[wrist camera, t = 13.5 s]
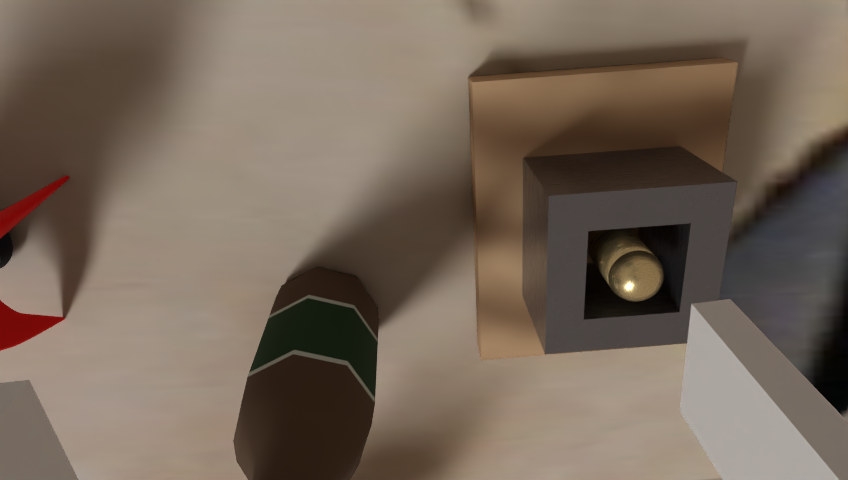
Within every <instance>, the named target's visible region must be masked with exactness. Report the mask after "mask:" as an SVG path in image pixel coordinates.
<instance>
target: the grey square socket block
mask: <svg viewBox="0 0 848 480" xmlns="http://www.w3.org/2000/svg"><path fill="white" fill-rule="evenodd" d="M736 187H737V181H735V180H734V179H732V178H731V177H729V176H727V175H726V174H724V173H723V172H721V171H719V170H718V169H716V168H715V167H713V166H711V165H710V164H708V163H707V162H705V161H704V160H702V159H700V158H699V157H697V156H696V155H694V154H692V153H691V152H689V151H688V150H686V149H684V148H683V147H681V146H673V147H659V148H646V149H632V150H619V151H605V152H592V153H578V154H565V155H551V156H538V157H525V158H523V259H522V296H523V299H524V302H525V304H526V307H527V309H528V312H529V314H530V317H531V319H532V322H533V325H534V327H535V330H536V332H537V335H538V337H539V340H540V343H541V345H542V348H543V350H544V353H545V354H556V353H568V352H581V351H594V350H606V349H619V348H631V347H644V346H657V345H669V344H682V343H687V340H688V331H689V322H690V313H691V304H693V303H701V302H710V301H719V294H720V288H721V282H722V275H723V269H724V263H725V256H726V250H727V244H728V237H729V231H730V225H731V218H732V212H733V206H734V199H735V193H736ZM636 227H639V230H638V237H639V238H640V240H641V241H642V242H643V243H644V244H645V245H646V246H647V247H648V248H649V250H650V251H651V252H652V253H653V254H654V255H655V256H656V257H657V258H658V260H659V261H660V263H661V265H662V268H663V274H664V277H663V282H662V285H661V287H660V289H659V290H658V292H657V293H656V294H655V295H653V296H652V297H651V298H649V299H646V300H643V301H628V300H625V299H623V298H621V297H619V296H618V295H617V294H616V293H614V291H613V290H612V289H611V287H610V286H609V284H608V283H607V281H606V280H605V278H604V277H603V276H602V274H601V273H600V271H599V270H598V268H597V267H596V265H595V264H594V262H592V263H587V247H588V231H596V230H609V229H622V228H636Z"/></svg>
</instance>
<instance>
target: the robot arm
mask: <svg viewBox="0 0 848 480" xmlns="http://www.w3.org/2000/svg"><path fill="white" fill-rule="evenodd" d="M680 412H681V414H682V415H683V417H684V419H685V420H686V422H687V423H688V425H689V427H690V428H691V430H692V431H693V433H694V435H695V436H696V438H697V439H698V441H699V443H700V444H701V446H702V448H703V449H704V451H705V452H706V454H707V456H708V457H709V459H710V460H711V462H712V464H713V465H714V467H715V468H716V470H717V472H718V473H719V475H720V477H721V478H722V480H848V422H847V421H846V420H845V419H844V418H843V417H842V416H841V415H840V413H839V412H838V411H837V410H836V409H835V408H834V407H833V406H832V405H831V404H830V403H829V402H828V401H827V400H826V399H825V398H824V397H823V396H822V395H821V394H820V393H819V392H818V391H817V389H816V388H815V387H814V386H813V385H812V384H811V383H810V382H809V381H808V380H807V379H806V378H805V377H804V376H803V375H802V374H801V373H800V372H799V371H798V370H797V369H796V368H795V366H794V365H793V364H792V363H791V362H790V361H789V360H788V359H787V358H786V357H785V356H784V355H783V354H782V353H781V352H780V351H779V350H778V349H777V348H776V347H775V346H774V345H773V343H772V342H771V341H770V340H769V339H768V338H767V337H766V336H765V335H764V334H763V333H762V332H761V331H760V330H759V329H758V328H757V327H756V326H755V325H754V324H753V323H752V322H751V321H750V319H749V318H748V317H747V316H746V315H745V314H744V313H743V312H742V311H741V310H740V309H739V308H738V307H737V306H736V305H735V304H734V303H733V302H732V301H731V300H730V299H727V300H719V301H710V302H701V303H693V304H691V313H690V322H689V331H688V340H687V349H686V358H685V367H684V377H683V386H682V395H681V404H680ZM0 480H78V478H77V476H76V474H75V472H74V470H73V468H72V466H71V464H70V462H69V460H68V458H67V456H66V454H65V452H64V450H63V448H62V446H61V444H60V442H59V439H58V437H57V435H56V433H55V431H54V429H53V427H52V425H51V423H50V421H49V419H48V417H47V415H46V413H45V411H44V409H43V407H42V405H41V403H40V401H39V399H38V397H37V395H36V393H35V391H34V389H33V387H32V385H31V383H30V381H29V380H24V381H15V382H7V383H0Z"/></svg>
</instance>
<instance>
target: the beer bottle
mask: <svg viewBox="0 0 848 480" xmlns="http://www.w3.org/2000/svg"><path fill="white" fill-rule="evenodd" d="M378 322H379V319H378V307H377V306H376V304H375V303H374V301H373V300H372V298H371V297H370V295H369V294H368V293H367V291H366V290H365V288H364V287H363V285H362V284H361V282H360V281H359V279H358V278H357V277H356V276H353V275H348V274H344V273H340V272H336V271H331V270H327V269H323V268H319V267H316V268H314V269H313V270H311V271H309V272H307V273H305V274H303V275H301V276H299V277H297V278H295V279H294V280H292V281H290V282H288V283H286V284H284V285H282V286H281V288H280V290H279V292H278V294H277V297H276V299H275V302H274V305H273V307H272V310H271V313H270V316H269V319H268V321H267V324H266V327H265V330H264V333H263V335H262V338H261V341H260V344H259V347H258V349H257V352H256V355H255V358H254V361H253V363H252V366H251V369H250V372H249V375H248V378H247V382H246V386H245V390H244V395H243V399H242V404H241V408H240V413H239V418H238V422H237V427H236V432H235V436H234V448H235V454H236V460H237V463H238V464H239V466H240V467H241V469H242V471H243V472H244V474H245V475H246V477H247V479H248V480H350V478H351V477H352V475H353V473H354V472H355V470H356V468H357V466H358V465H359V462H360V459H361V455H362V452H363V449H364V446H365V443H366V440H367V437H368V434H369V431H370V428H371V424H372V418H373V412H374V405H375V389H376V367H377V344H378Z"/></svg>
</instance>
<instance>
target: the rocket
mask: <svg viewBox="0 0 848 480" xmlns="http://www.w3.org/2000/svg"><path fill="white" fill-rule="evenodd" d="M68 179H69V176H65V177H62V178H60V179H59V180H57V181H55V182H53V183H51V184H50V185H48V186H46V187H44V188H42V189H41V190H39V191H37V192H35V193H33V194H32V195H30V196H28V197H26V198H24V199H23V200H21V201H19V202H17V203H15V204H13V205H11V206H10V207H8V208H6V209H4V210H2V211H0V268H2V267H4V266H5V265H6V264H7V263H8V262H9V260H10V258H11V256H12V252H13V244H12V240H11V237H10V235H9V233H8V232H9V231H10V230H11V229H12V228H13V227H15V226H16V225H17V224H18V223H19V222H20V221H21V220H23V219H24V218H25V217H26V216H27V215H28V214H29V213H30V212H32V211H33V210H34V209H35V208H36V207H37V206H39V205H40V204H41V203H42V202H43V201H44V200H46V199H47V198H48V197H49V196H50V195H51V194H52V193H54V192H55V191H56V190H57V189H58V188H59V187H61V186H62V185H63V184H64V183H65V182H66V181H67V180H68ZM64 319H65V318H64V317H54V316H43V315H32V314H23V313H19V312H16V311H14V310H13V309H11V308H9V307H8V306H7V305H5V304H4V303H3V302H2V301H0V351H1V350H4V349H7V348H10V347H13V346H16V345H18V344H20V343H23V342H25V341H27V340H29V339H30V338H32V337H34V336H36V335H38V334H40V333H41V332H43V331H45V330H47V329H48V328H50V327H52V326H54V325H55V324H57V323H59V322H61V321H62V320H64Z"/></svg>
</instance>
